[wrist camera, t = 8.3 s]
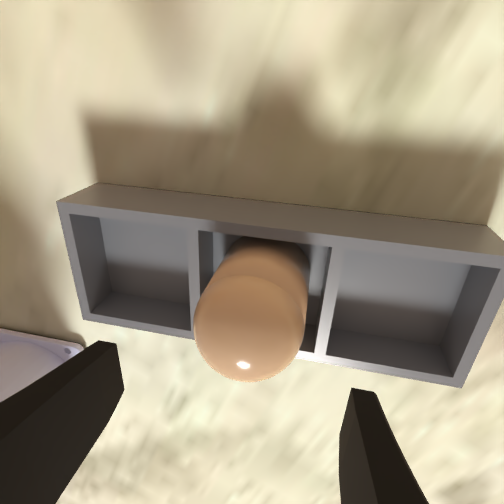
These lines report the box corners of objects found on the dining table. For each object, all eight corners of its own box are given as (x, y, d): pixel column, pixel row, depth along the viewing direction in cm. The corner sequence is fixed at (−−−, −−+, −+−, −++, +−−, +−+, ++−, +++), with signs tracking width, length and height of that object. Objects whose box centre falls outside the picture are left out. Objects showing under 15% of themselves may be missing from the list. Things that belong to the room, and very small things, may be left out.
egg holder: (115, 288, 20) (83, 319, 18) (97, 182, 17) (56, 201, 15) (442, 341, 17) (461, 388, 15) (487, 225, 15) (521, 258, 12)
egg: (224, 300, 18) (178, 395, 13) (224, 226, 16) (170, 301, 11) (305, 313, 17) (293, 418, 12) (315, 237, 15) (306, 322, 10)
